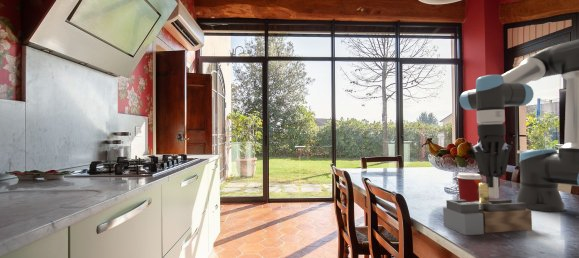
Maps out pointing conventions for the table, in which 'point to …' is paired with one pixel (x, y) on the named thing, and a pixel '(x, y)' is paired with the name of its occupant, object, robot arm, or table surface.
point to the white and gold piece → (482, 196)
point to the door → (506, 216)
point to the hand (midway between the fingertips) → (493, 197)
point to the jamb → (463, 217)
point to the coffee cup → (469, 186)
